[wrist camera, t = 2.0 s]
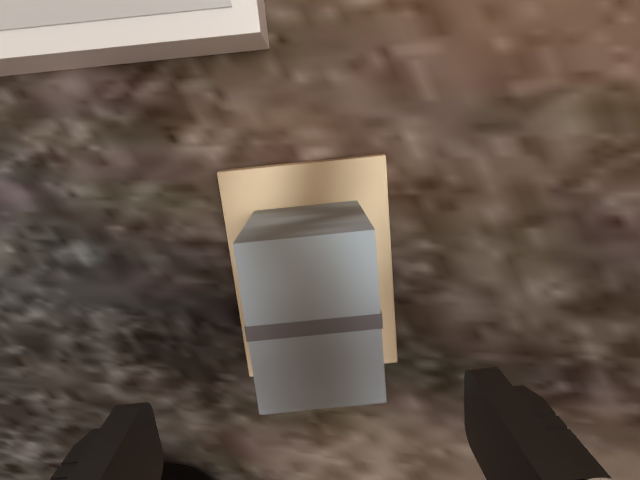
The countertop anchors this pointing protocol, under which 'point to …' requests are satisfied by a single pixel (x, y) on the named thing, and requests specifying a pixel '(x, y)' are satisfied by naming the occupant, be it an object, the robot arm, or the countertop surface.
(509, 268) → the countertop surface
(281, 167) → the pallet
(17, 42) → the dock
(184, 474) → the mug
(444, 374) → the countertop surface
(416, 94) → the countertop surface
